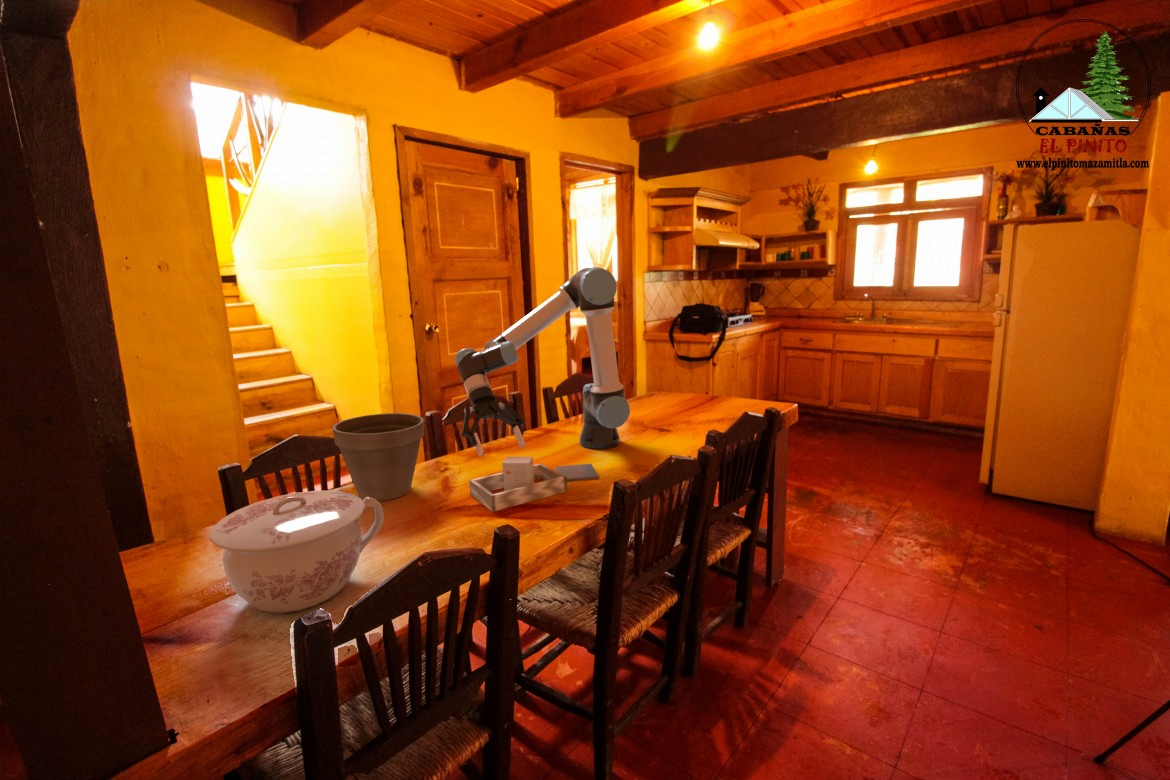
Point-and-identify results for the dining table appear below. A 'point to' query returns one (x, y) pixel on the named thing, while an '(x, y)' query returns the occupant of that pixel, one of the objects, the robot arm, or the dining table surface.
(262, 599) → the chamber pot
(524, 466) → the small box
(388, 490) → the plant pot
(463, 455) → the dining table surface
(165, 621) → the dining table surface
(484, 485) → the crate
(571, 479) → the plate
